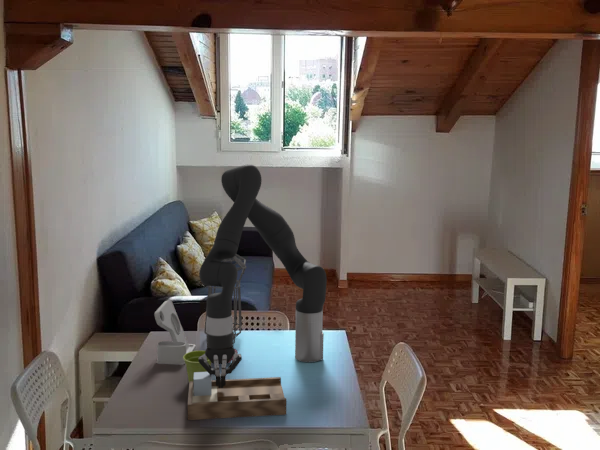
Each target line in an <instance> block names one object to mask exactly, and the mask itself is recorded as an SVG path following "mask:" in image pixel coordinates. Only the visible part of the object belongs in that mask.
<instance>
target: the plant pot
mask: <svg viewBox="0 0 600 450" xmlns="http://www.w3.org/2000/svg"><path fill="white" fill-rule="evenodd" d="M204 354H205V350H194V351H192V352H188V353H186V354H185V355H184V356H183V359H184V360H185V364H184V365H185V367H186V372H187V373H186V374H187V381H188V383H189V382H190V381H194V372H207V371H206V370H205V369H204V367H203V366H202V365H201V364H200V363H199V360H198V359H199V356H202V355H204ZM207 362H208V363H209V365H210V366H211V367H212V364H213V363H212V362H211V361H210V360H209V359H208V358H207ZM211 363H212V364H211Z"/></svg>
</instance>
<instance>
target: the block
mask: <svg viewBox="0 0 600 450" xmlns="http://www.w3.org/2000/svg"><path fill="white" fill-rule="evenodd" d="M211 380H212V375H210V374H209V373H208V372H194V396H205V395H212V384H211Z"/></svg>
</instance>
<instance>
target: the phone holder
mask: <svg viewBox="0 0 600 450" xmlns="http://www.w3.org/2000/svg"><path fill="white" fill-rule="evenodd" d="M154 319H155V322H156V324H157V325H158V326H159V327H160V328H161V329H164V330H165V331H167V332H168V334H169V335H170V338H171V341H169V340H168V341H165V340H163V341H160V342H157V344H156V364H159V365H186V364H185V360H184V359H183V356H184V355H185V354H186V353H188V352H192V351H195V350H196V349H195V348H196V344H193V343H189V341H188V338H187V337H186V333H185V332H184V328H183V326H182V324H181V321H180V319H179V316H178V313H177V312H176V309H175V306H174V303H173V301H172V300H171V299H168V300H165V301H164V302H163V303H162V304H161V305H160V306H159V307H158V308H157V309H156V311H154Z"/></svg>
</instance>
